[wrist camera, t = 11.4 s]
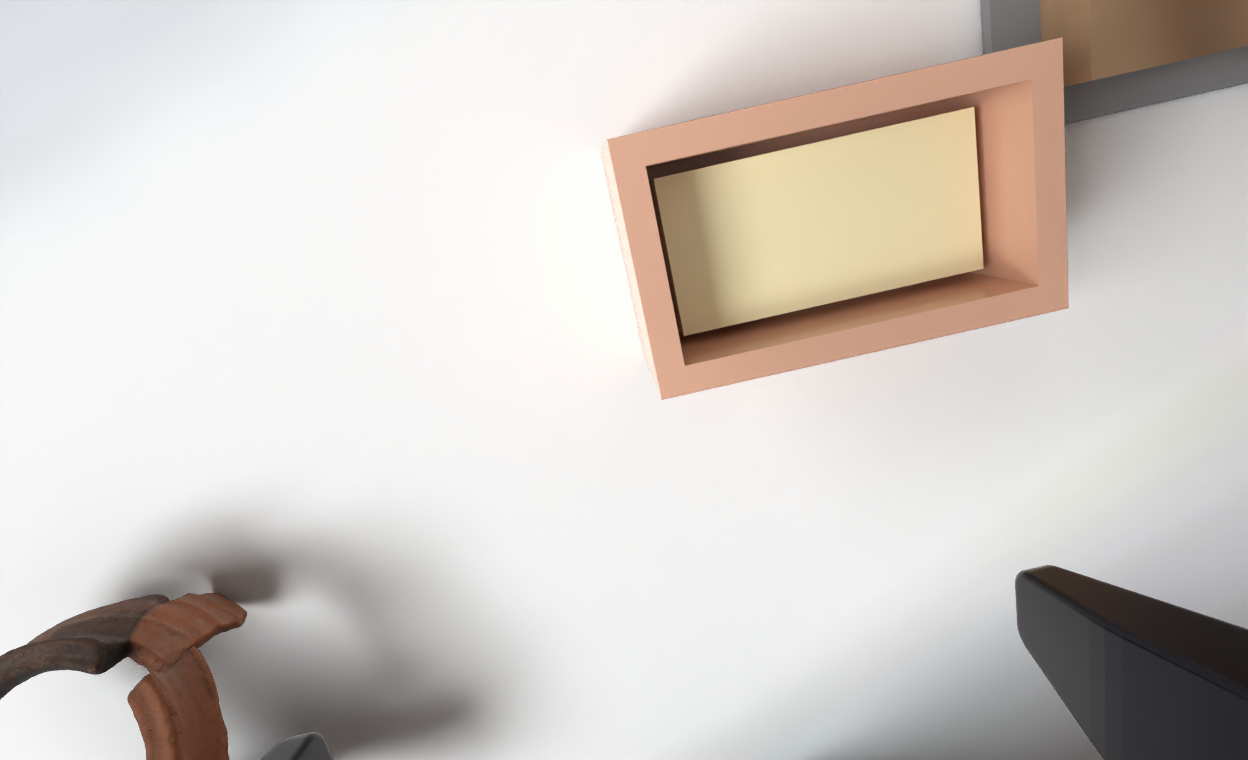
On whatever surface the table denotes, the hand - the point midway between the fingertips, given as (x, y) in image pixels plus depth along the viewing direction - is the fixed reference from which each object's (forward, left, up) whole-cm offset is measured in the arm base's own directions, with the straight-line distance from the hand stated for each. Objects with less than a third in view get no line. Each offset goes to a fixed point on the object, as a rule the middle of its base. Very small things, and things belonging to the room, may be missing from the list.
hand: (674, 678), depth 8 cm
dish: (+4, -6, -12) cm, 14 cm away
